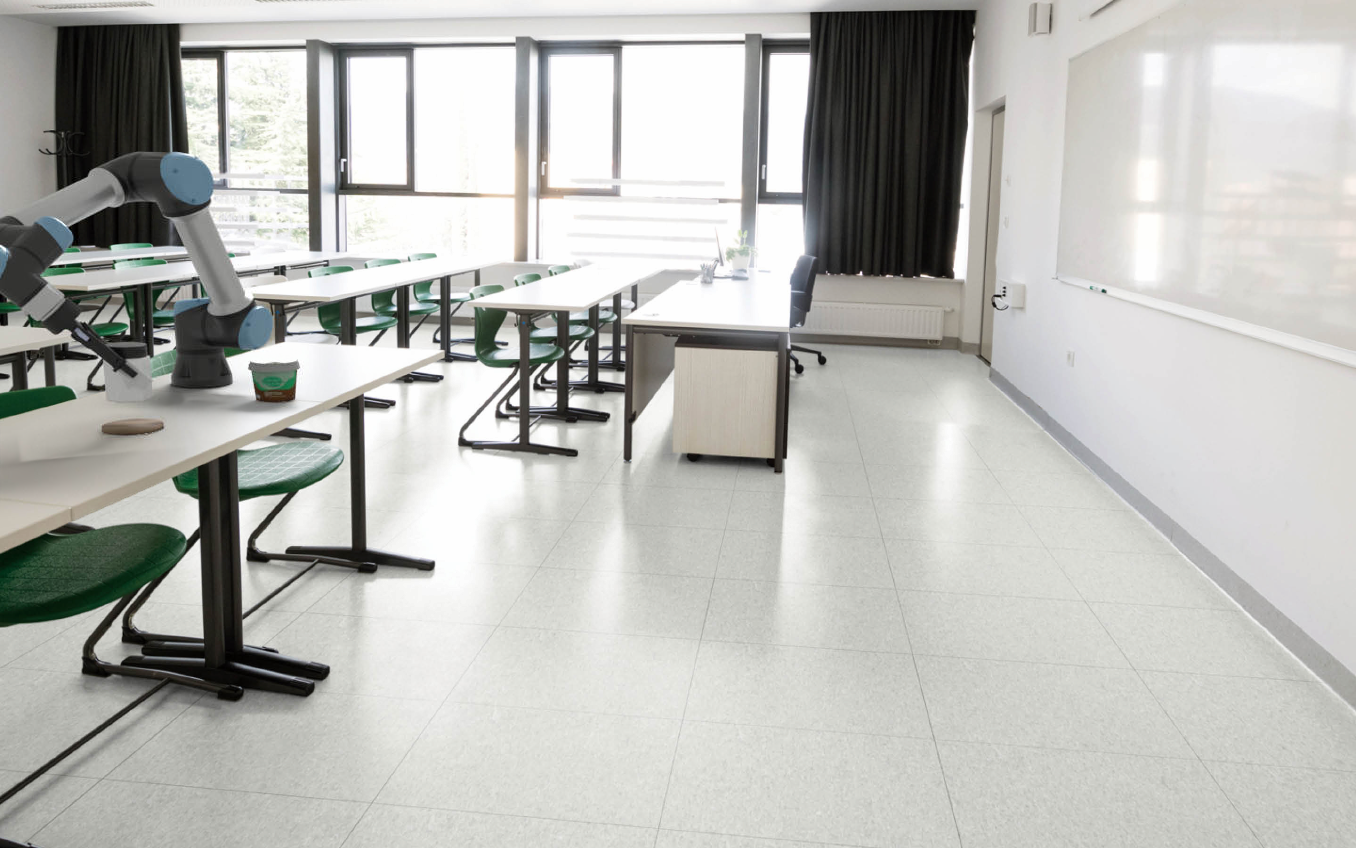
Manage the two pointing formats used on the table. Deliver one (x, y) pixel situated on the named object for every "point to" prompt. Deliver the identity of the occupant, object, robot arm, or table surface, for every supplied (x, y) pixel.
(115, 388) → the jar
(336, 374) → the table surface
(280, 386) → the food container
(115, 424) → the candle base
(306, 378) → the table surface
